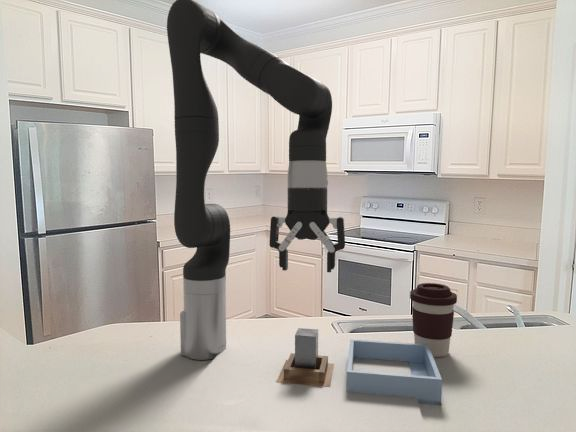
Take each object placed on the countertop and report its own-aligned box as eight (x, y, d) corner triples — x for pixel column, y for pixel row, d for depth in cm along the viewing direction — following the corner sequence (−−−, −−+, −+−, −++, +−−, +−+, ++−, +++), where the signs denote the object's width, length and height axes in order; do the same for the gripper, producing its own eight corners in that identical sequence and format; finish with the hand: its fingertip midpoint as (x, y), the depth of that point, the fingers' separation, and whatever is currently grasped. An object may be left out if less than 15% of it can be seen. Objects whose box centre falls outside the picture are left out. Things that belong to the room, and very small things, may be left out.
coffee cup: (400, 351, 94) (402, 286, 93) (420, 340, 101) (422, 279, 100) (444, 364, 87) (446, 294, 86) (462, 351, 94) (464, 285, 93)
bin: (346, 396, 74) (346, 371, 74) (349, 359, 90) (350, 339, 89) (441, 405, 71) (442, 379, 71) (427, 365, 87) (428, 344, 86)
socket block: (276, 387, 77) (276, 371, 77) (286, 364, 87) (286, 350, 87) (330, 392, 75) (330, 376, 75) (334, 368, 85) (334, 354, 85)
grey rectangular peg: (294, 376, 80) (295, 335, 79) (298, 367, 84) (298, 328, 83) (315, 377, 79) (315, 336, 78) (318, 368, 83) (318, 329, 82)
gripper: (266, 185, 76) (266, 273, 77) (344, 185, 74) (343, 276, 75) (274, 186, 84) (274, 265, 85) (346, 186, 81) (345, 268, 82)
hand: (307, 270), depth 80 cm, fingers open, 8 cm apart
